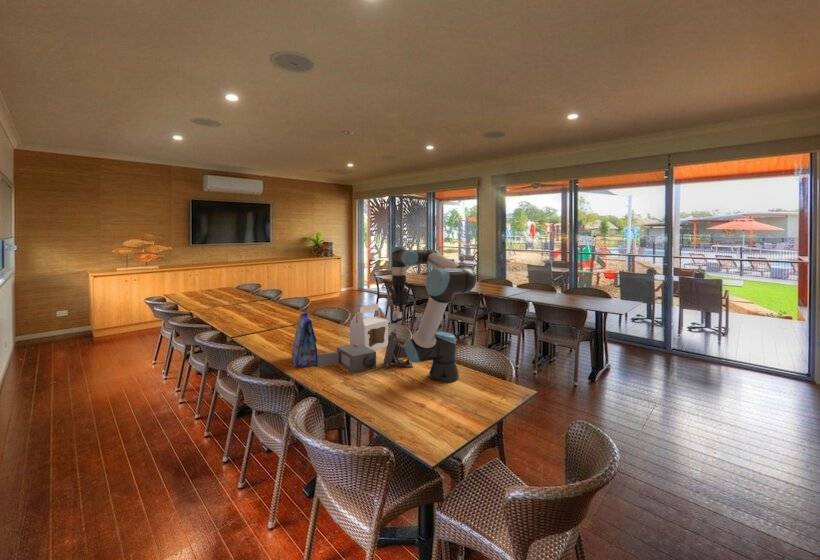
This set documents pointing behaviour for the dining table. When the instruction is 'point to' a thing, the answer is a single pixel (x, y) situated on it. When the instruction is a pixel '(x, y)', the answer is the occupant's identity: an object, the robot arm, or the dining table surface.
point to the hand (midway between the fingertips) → (399, 317)
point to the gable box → (369, 328)
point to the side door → (328, 358)
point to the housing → (357, 357)
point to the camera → (395, 352)
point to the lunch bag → (304, 343)
